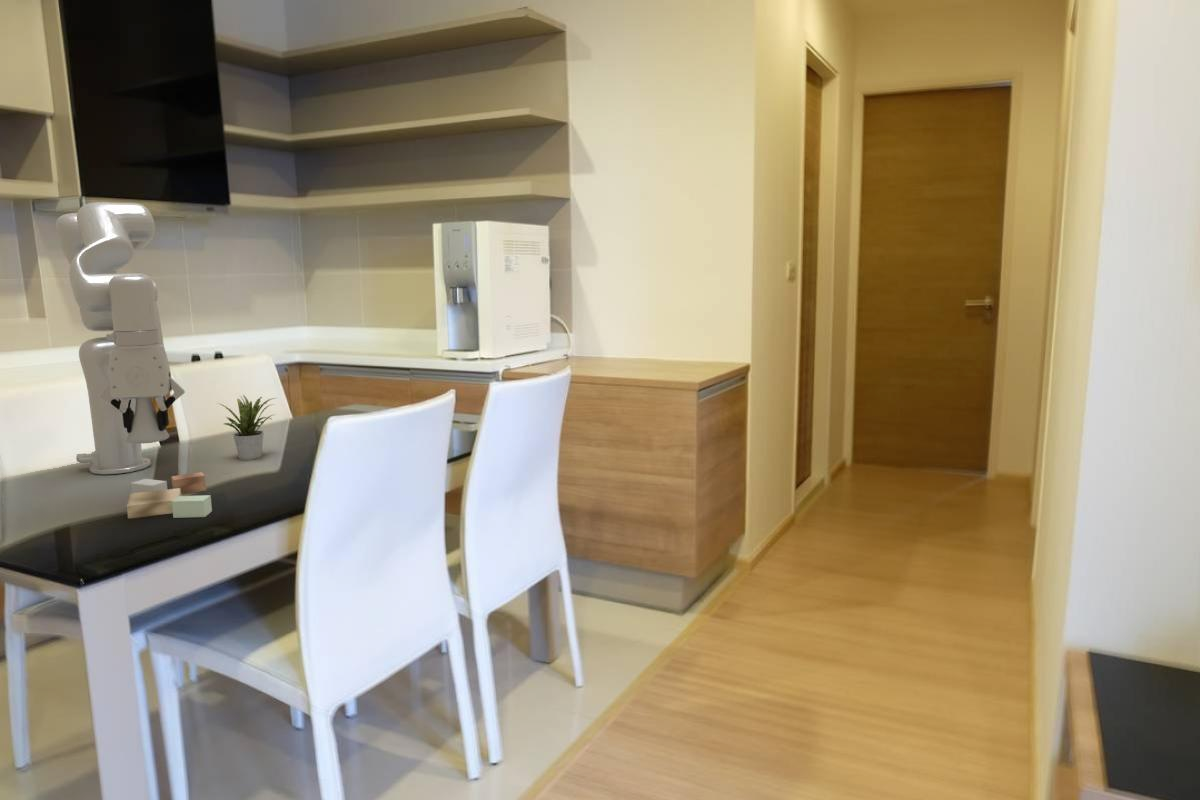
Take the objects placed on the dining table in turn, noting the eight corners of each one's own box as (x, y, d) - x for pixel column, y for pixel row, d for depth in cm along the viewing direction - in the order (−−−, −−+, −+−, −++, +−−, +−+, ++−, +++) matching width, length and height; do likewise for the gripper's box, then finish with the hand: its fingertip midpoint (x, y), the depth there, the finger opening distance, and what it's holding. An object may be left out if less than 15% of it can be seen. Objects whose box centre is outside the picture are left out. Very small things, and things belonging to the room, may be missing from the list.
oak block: (128, 520, 157) (126, 506, 156) (132, 507, 165) (130, 493, 164) (180, 514, 161) (178, 499, 160) (181, 501, 169) (180, 487, 168)
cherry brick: (175, 495, 172) (173, 480, 171) (172, 491, 175) (171, 476, 174) (206, 490, 175) (204, 475, 175) (203, 487, 178) (201, 472, 178)
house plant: (297, 453, 207) (293, 391, 204) (255, 466, 194) (249, 400, 191) (256, 448, 212) (251, 387, 209) (212, 460, 200) (206, 396, 197)
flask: (150, 445, 156) (145, 395, 154) (118, 444, 157) (112, 394, 155) (176, 437, 163) (172, 388, 161) (146, 435, 164) (140, 387, 162)
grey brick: (132, 499, 170) (130, 483, 169) (146, 494, 173) (145, 478, 172) (154, 501, 168) (152, 485, 167) (168, 497, 171) (166, 481, 170)
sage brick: (173, 518, 157) (171, 501, 156) (181, 512, 161) (179, 496, 160) (205, 517, 158) (203, 500, 157) (212, 512, 161) (210, 495, 160)
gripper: (81, 343, 151) (92, 437, 154) (181, 340, 155) (190, 431, 158) (94, 338, 158) (104, 429, 161) (189, 336, 162) (197, 424, 165)
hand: (147, 429), depth 160 cm, fingers closed on flask, 5 cm apart
